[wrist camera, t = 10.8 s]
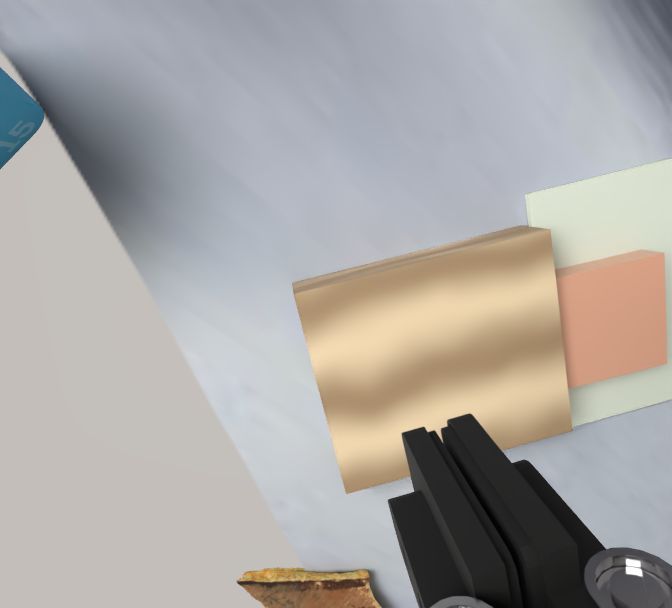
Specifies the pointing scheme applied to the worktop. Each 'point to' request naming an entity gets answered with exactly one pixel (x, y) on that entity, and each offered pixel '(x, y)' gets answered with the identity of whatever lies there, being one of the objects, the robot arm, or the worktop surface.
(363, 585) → the shard
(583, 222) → the sage mat
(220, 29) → the worktop surface
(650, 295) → the terracotta coaster
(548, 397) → the oak board
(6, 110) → the data package
